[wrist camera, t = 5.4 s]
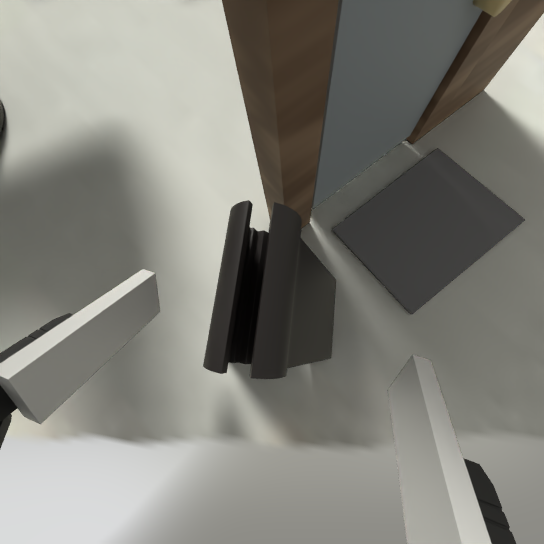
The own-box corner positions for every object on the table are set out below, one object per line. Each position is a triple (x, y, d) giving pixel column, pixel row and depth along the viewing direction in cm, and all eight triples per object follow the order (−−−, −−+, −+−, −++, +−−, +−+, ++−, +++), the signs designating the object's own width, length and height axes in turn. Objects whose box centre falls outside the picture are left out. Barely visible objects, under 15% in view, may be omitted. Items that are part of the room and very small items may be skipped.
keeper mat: (332, 230, 21) (332, 228, 21) (435, 150, 22) (437, 147, 22) (410, 314, 19) (412, 313, 18) (522, 221, 20) (525, 219, 19)
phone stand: (335, 281, 20) (392, 209, 8) (330, 358, 19) (388, 400, 7) (228, 270, 21) (146, 192, 9) (216, 342, 20) (101, 355, 8)
